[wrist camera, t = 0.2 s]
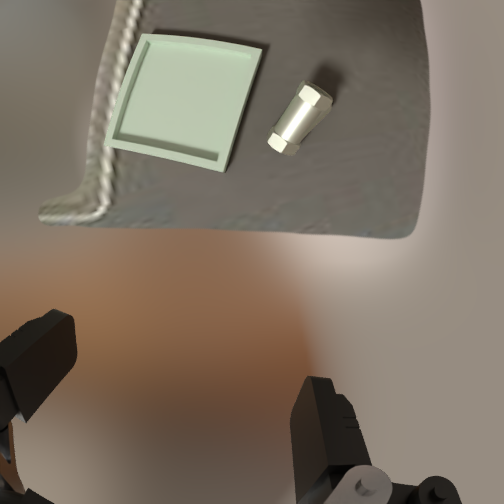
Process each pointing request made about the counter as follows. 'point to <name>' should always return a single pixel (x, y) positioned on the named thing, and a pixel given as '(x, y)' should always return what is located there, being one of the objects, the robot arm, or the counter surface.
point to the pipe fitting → (299, 118)
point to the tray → (183, 99)
